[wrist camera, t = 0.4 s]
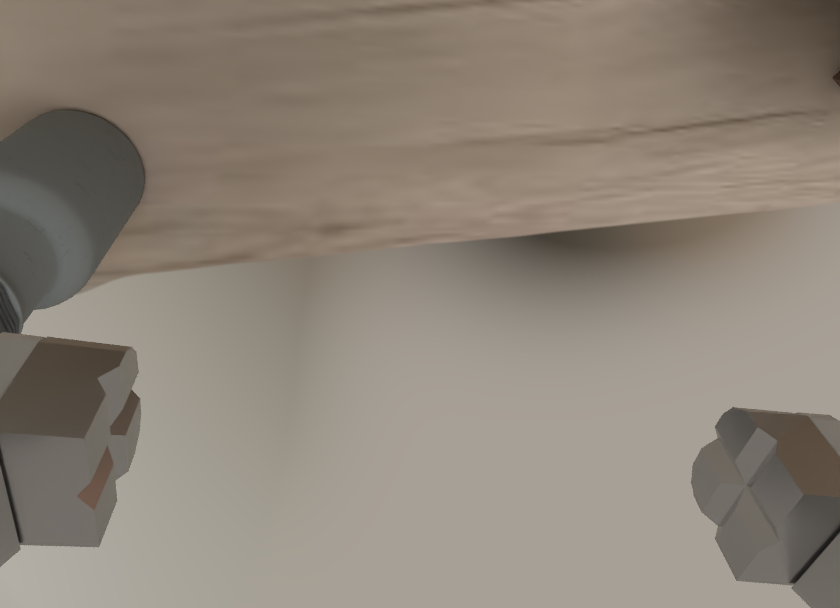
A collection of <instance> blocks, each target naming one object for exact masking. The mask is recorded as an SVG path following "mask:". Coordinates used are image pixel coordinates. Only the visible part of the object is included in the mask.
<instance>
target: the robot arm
mask: <svg viewBox="0 0 840 608" xmlns="http://www.w3.org/2000/svg"><path fill="white" fill-rule="evenodd" d="M137 374H138V363H137V354H136V351H135V350H134V349H133V348H132V347H128V346H120V345H111V344H103V343H94V342H86V341H79V340H69V339H62V338H54V337H47V338H45V337H40V336H31V335H23V334H15V333H7V332H2V333H0V567H1V566H2V565H3V564H4V563H5V562H6V561H7V560H9V559H10V558H11V557H12V556H13V555H15V554H16V553H17V552H18V551H19V550H20V545H41V546H43V545H45V546H80V547H99V546H100V543H101V540H102V538H103V535H104V533H105V530H106V527H107V525H108V523H109V520H110V517H111V514H112V512H113V510H114V507H115V505H116V502H117V494H116V483H115V480H117V479H118V478H120V477H121V476H122V475H124V474H125V473H126V472H128V471H129V468H130V465H131V462H132V459H133V457H134V454H135V450H136V445H137V441H138V436H139V431H140V419H141V405H140V398H139V397H138V396H137V395H136V394H135V393H134V392H133V391H132V390H131V389H132V386H133V384H134V382H135V379H136V377H137ZM715 429H716V433H717V437H718V438H717V439H716V440H714V441H713V442H711V443H709V444H708V445H706V446H704V447H703V448H702V449H701V451H700V452H699V454H698V456H697V458H696V460H695V462H694V463H693V469H692V480H691V484H692V488H693V493H694V497H695V499H696V501H697V504H698V506H699V508H700V510H701V512H702V513H704V514H705V515H706V516H707V517H708V518H709V519H710V520H712V521H713V522H714V523H715V524H716V525H718V528H717V532H716V537H715V540H716V542H717V543H718V545H719V547H720V549H721V551H722V553H723V555H724V557H725V559H726V561H727V563H728V565H729V567H730V569H731V570H732V573H733V575H734V577H735V579H736V580H737V581H746V582H759V583H771V584H782V585H794V586H793V587H792V589H793V590H794V591H795V592H796V593H797V594H798V595H799V596H800V597H801V598H802V599H803V600H804V601H805V602H806V603H807V604H808V605H809V606H810V607H811V608H840V421H839V420H837V419H835V418H834V417H832V416H830V415H822V414H809V413H789V412H777V411H767V410H755V409H746V408H734V407H733V408H732V409H730V410H728V411H727V412H725V413H724V414H723V415H722V416H721V418H720V419H719V421H718V423H717V425H716V426H715Z"/></svg>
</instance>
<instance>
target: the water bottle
mask: <svg viewBox="0 0 840 608" xmlns="http://www.w3.org/2000/svg"><path fill="white" fill-rule="evenodd" d="M143 189H144V170H143V166H142V163H141V160H140V157H139V155H138V153H137V151H136V149H135V148H134V146H133V145H132V144H131V142H130V141H129V140H128V138H127V137H126V136H125V135H124V134H123V133H122V132H120V131H119V130H118V129H117V128H116V127H114V126H113V125H111V124H110V123H108V122H107V121H105V120H103V119H101V118H99V117H97V116H95V115H92V114H88V113H85V112H81V111H72V110H61V111H52V112H49V113H45V114H42V115H40V116H38V117H36V118H35V119H33V120H31V121H30V122H28V123H27V124H25V125H24V126H23V127H21V128H20V129H18V130H17V131H16V132H14V133H13V134H11V135H10V136H8V137H7V138H6V139H4V140H3V141H1V142H0V333H2V332H7V333H15V334H21V332H22V329H23V324H24V322H25V321H26V319H27V318H28V317H29V316H30V314H31V313H32V311H33V310H36V309H45V308H49V307H52V306H55V305H58V304H60V303H62V302H64V301H66V300H68V299H69V298H71V297H73V296H74V295H75V294H76V293H77V292H79V291H80V290H81V289H82V288H83V287H84V286H85V285H86V283H87V282H88V280H89V279H90V277H91V276H92V274H93V273H94V271H95V270H96V268H97V267H98V265H99V264H100V262H101V261H102V259H103V258H104V256H105V254H106V253H107V251H108V250H109V248H110V247H111V245H112V244H113V242H114V241H115V239H116V237H117V236H118V234H119V233H120V231H121V230H122V228H123V227H124V225H125V224H126V222H127V220H128V219H129V217H130V216H131V214H132V213H133V211H134V210H135V208H136V207H137V205H138V204H139V202H140V199H141V197H142V194H143Z"/></svg>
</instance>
